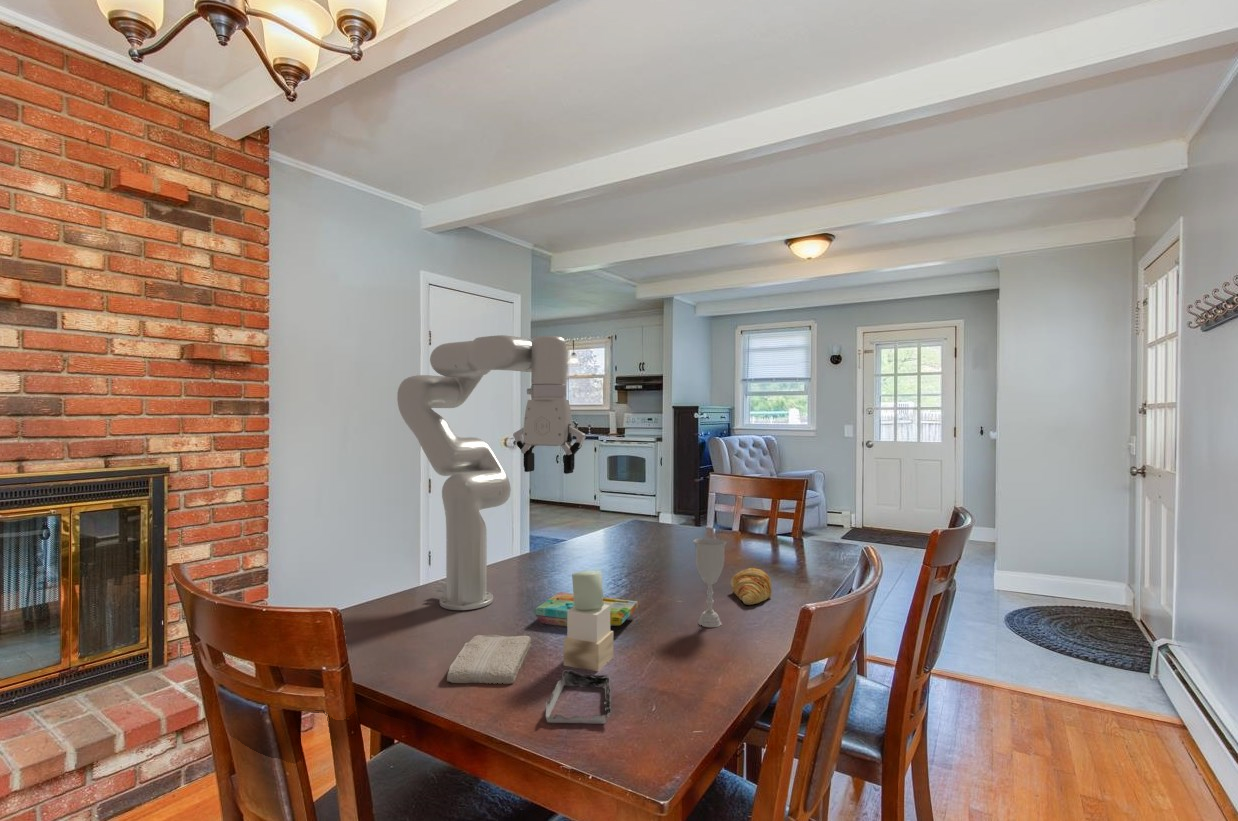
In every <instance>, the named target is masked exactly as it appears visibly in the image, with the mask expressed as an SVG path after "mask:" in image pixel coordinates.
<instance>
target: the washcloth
mask: <svg viewBox="0 0 1238 821" xmlns="http://www.w3.org/2000/svg"><path fill="white" fill-rule="evenodd" d="M531 641H532V638H531V637H530V636H529V635H515V636H513V635H511V636H502V635H498V634H483V635H481V634H476V635H475V636H473V637H472V638H471V639H470V640H469V641H468V642H465V643H464V644H463V647H462V649H461V650H460V652H458V654H457V655H456V657H455V658H454V660H453V662H452V663H451V664H450V666H449V668H448V672H447V675H446V681H447V682H448V683H449V682H450V683H453V684H470V683H471V684H472V683H473V684H474V683H475V684H485V683H486V684H485V685H487V684H488V683H489V684H491V683H493V684H494V685H495V684H497V683H498V685H499V684H500V685H509V684H510V685H511V684H514V683H515V681H516V679H517V677H518V673H519V671H520V670H521V668H522V666H523V662H524V660H525V658H526V655H527V653H528V652H529V650H530V648H531V646H532V644H531V643H532V642H531ZM521 665H522V666H521ZM519 669H520V670H519ZM502 683H503V684H502ZM491 685H492V684H491Z"/></svg>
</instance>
